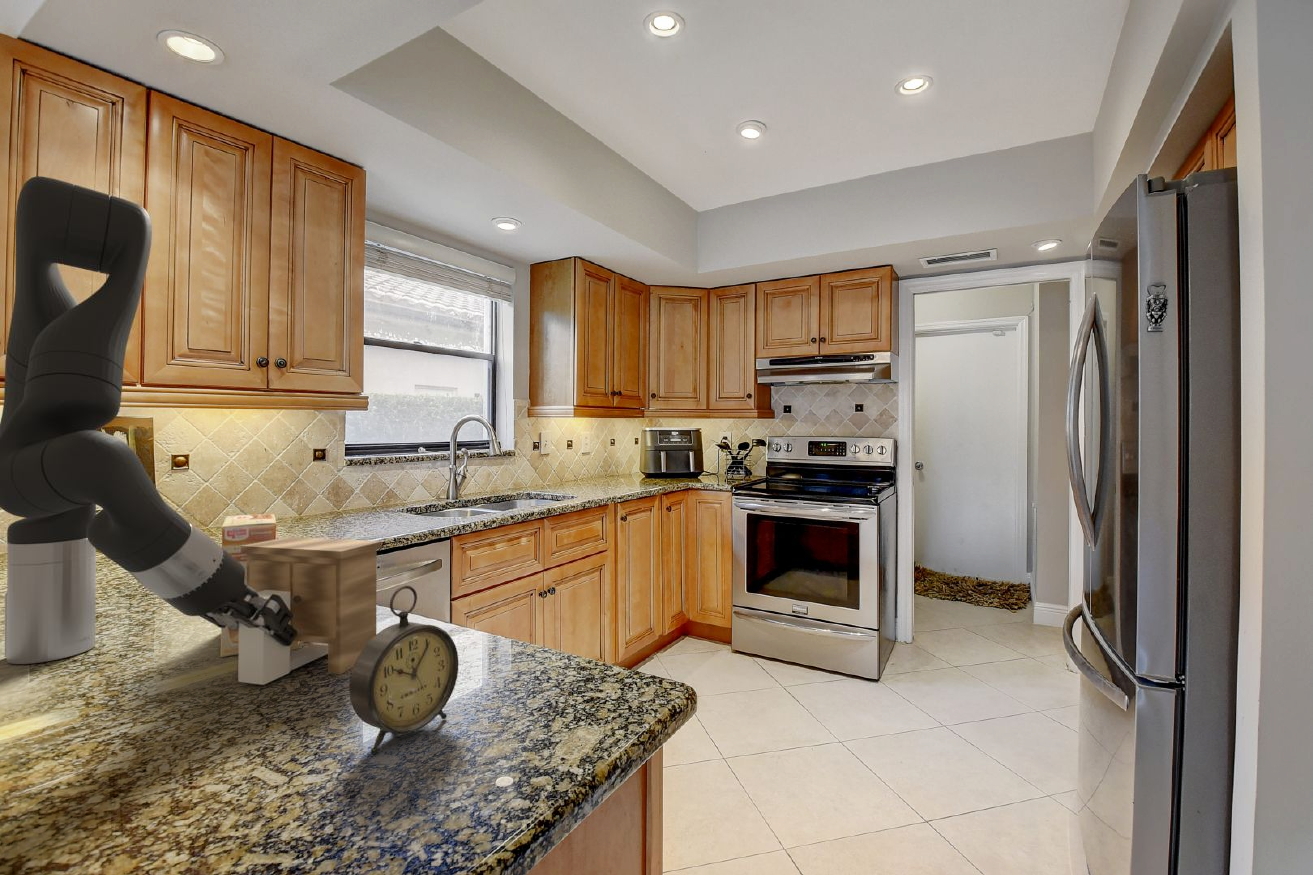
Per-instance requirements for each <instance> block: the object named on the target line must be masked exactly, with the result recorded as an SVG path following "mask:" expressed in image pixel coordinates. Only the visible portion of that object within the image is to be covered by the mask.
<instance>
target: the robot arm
mask: <svg viewBox="0 0 1313 875" xmlns="http://www.w3.org/2000/svg"><path fill="white" fill-rule="evenodd" d="M151 220H152V219H151V217H150V214H149V213H148V211H147V210H146V208H144V207H143V206H142V205H139V204H138V203H135V202H132V201H130V200H127V199H123V197H122V198H120V197H119V196H118V197H117V196H114V195H110V194H108V193H104V192H100V191H97V190H95V189H91V188H87V187H84V186H81V185H77V184H73V183H71V182H67V181H63V180H59V179H56V178H51V177H48V176H47V177H46V176H42V175H41V176H40V175H38V176H33V177H30V178H29V179H27V180H26V181H25V183H24V184H23V186H22V188H21V189H20V193H19V195H18V198H17V204H16V212H15V289H14V290H15V291H14V301H13V308H12V312H11V313H12V314H11V319H10V325H9V332H8V338H7V344H6V352H5V361H4V365H5V366H4V367H5V368H4V388H3V389H4V390H3V391H4V394H3V395H4V396H3V408H2V413H1V417H0V509H1V510H3V511H5V512H6V513H8V514H10V515H12V516H16V517H19V518H21V519H18V520H15V521H13V522H12V523H11V524H9V525H8V528H7V533H6V536H7V537H6V542H7V543H6V544H7V546H6V547H7V549H6V550H7V552H6V556H7V557H6V567H7V568H6V571H7V572H6V575H7V576H6V578H7V579H6V582H7V583H6V585H7V586H6V588H7V589H6V593H5V595H4V658H6V663H9V664H13V665H29V664H30V665H31V664H38V663H44V662H50V661H55V660H60V659H65V658H68V657H72V656H76V655H79V654H82V653H84V652H87V651H90V650H92V649H93V648H95V646H96V618H97V617H96V616H97V615H96V610H97V609H96V605H97V604H96V603H97V602H96V600H97V598H96V593H97V592H96V591H97V588H96V583H97V581H96V580H97V578H96V574H97V572H96V571H97V570H96V568H97V566H96V565H97V560H96V559H97V558H96V557H97V555H96V554H97V553H96V550H97V551H98V552H99V553H101V554H103V555H104V556H105V557H106V558H107V559H108V560H111V561H112V562H114V563H115V564H117V565H118V566H119V567H121V568H122V569H123V570H125V571H127V572H128V573H129V574H130V576H132V577H133V578H134V579H135V580H136V581H137V582H138V583H140V585H142V586H143V587H144V588H145V589H147V590H149V591H150V592H151V593H153V594H154V595H156V596H157V597H159V599H161V600H163V601H164V602H165V603H167V604H169V605H170V606H171V607H173V608H174V609H176V610H177V611H179V613H182V615H185V616H189V617H198V616H199V618H202V619H204V620H206V621H208V622H210V623H211V624H213V625H215V626H217V628H220V629H221V628H225V627H226V626H228V627H229V628H230V629H231V630H233V631H239V623H241V624H243V625H245V626H246V627H248V628H258V629H260V630H262V631H264V632H265V633H266V634H268V635H270V636H271V637H272V638H274V639H275V640H276V641H278V642H279V643H280V644H281V645H283V646H290V645H291V644H292V642H293V640H294V639H295V637H296V636H297V630H295V629H294V628H293V627H292V626H290V625H289V624H288V623H289V621H290V620H291V618H292V617H293V615H292V613H291V612H290V610H289V609H288V607H287V606H286V604H285V603H284V601H283V600H282V598H281V597H280V596H279V595H276V594H272V595H271V596H270V598H269V599H264V598H263V597H261V596H260V595H258V594H257V592H256V590H254V589H253V588H251V587H250V586H247V585H245V583H244V579H245V570H244V567H243V566H242V564H241V563H239V562H238V561H237V560H236V559H235V558H234V557H232V556H231V555H230V554H229V553H228V552H227V551H225V550H224V549H223V548H222V545H220V544H218V543H217V542H216V541H215V540H214V539H213V538H211V536H210V535H209V534H207V533H206V532H204V531H202V529H200V528H198V527H196V526H195V525H193V524H191V523H190V522H189V521H188V520H186V519H185V518H184V517H183V516H182V515H181V514H179V513H178V512H177V511H176V510H175V509H174V508H172V507H171V506H170V505H169V504H167V503H166V502H165V500H164V499H163V498H162V495H161V494H160V493H159V490H158V489H157V488H156V485H155V484H154V482H153V480H152V479H151V477H150V476H149V474H148V472H147V471H146V469H145V467H144V466H143V463H142V462H141V460H140V458H139V456H138V455H137V454H136V452H135V451H134V450H133V448H132V447H130V445H129V444H127V443H126V442H125V441H123V440H121V439H120V438H118V437H116V436H115V435H112V434H109V433H106V432H104V431H99V429H101V428H103V427H105V426H106V425H108V424H109V423H111V422H113V420H115V419H116V417H117V416H118V414H119V412H120V409H121V403H122V393H123V380H124V369H125V368H124V367H125V358H126V351H127V346H128V341H129V338H130V337H129V336H130V334H131V330H132V327H133V324H134V321H135V316H136V314H137V310H138V306H139V303H140V299H141V295H142V291H143V286H144V282H145V279H146V278H145V277H146V273H147V269H148V263H149V259H150V254H151V248H152V239H153V237H152V236H153V226H152V221H151ZM58 265H63V266H69V267H73V268H77V269H81V270H82V269H83V270H87V271H91V272H94V273H101V274H104V275H108V276H107V278H106V280H105V281H104V283H103V285H101V287H99V289H97V290H96V291H95V292H93V294H91V295H90V296H88V297H87V298H86V299H84V300H83V301H82V302H80V303H79V301H78V300H77V299H76V298H75V296H73V294H72V293H71V292H70V290H69V288H68V286H67V285H66V283H65V281H64V280H63V277H62V274H61V271H60V268H59V266H58ZM97 506H99V507H100V508H101V510H100V511H98V513H97V514H96V512H97ZM258 609H259V611H258V612H257V610H258ZM256 612H257V613H256ZM255 613H256V615H255V616H254V614H255ZM253 616H254V618H253V619H252V620H250V618H251V617H253ZM264 620H265V621H266V623H267V624H268V625H266V624H264V622H263V621H264Z"/></svg>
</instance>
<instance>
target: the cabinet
mask: <svg viewBox="0 0 1313 875" xmlns="http://www.w3.org/2000/svg"><path fill="white" fill-rule="evenodd" d="M382 542H383V541H382V540H381V541H379V540H365V539H364V540H363V539H362V540H361V539H340V538H323V537H322V538H321V537H320V538H319V537H318V538H317V537H303V536H302V537H301V536H300V537H299V536H286V537H285V536H284V537H280V538H276V539H275V540H269V541H264V542H259V543H254V544H248V545H243V546H241V553H247V586H250V587H251V588H253V589H254V590H256V592H260V591H264V590H276V591H288V592H290V612H291V613H292V615H293V617H292V618H291V620H290V626H292V627H293V628H294V629H295V630H297V636H296V637H295V639H294V640H293V642H292V644H291V645H290V652H293V651H295V650H298V649H300V645H299V644H300V643H299V642H301V643H302V642H303V643H304V642H305V643H311V644H312V643H322V644H328V654H327V673H328V674H333V675H342V674H344V673H346V672H348V671H350V670H353V667H354V664H355V662H356V660H357V658H358V656H359V654H360V653H361V651H362V650H363V648H364V647H365V646H366V644H367V643H368V642H369V641H370V640H371V639H372V638H373V637H374V636H375V635H376V634H377V586H378V585H377V571H378V568H377V564H378V562H377V558H378V555H377V550H379V549H382V548H383V543H382Z"/></svg>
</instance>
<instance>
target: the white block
mask: <svg viewBox="0 0 1313 875" xmlns="http://www.w3.org/2000/svg"><path fill="white" fill-rule="evenodd" d="M257 594H258V595H260V596H261V597H263V598H264V599H269V598H270V596H271V595H272V594H276V595H279V596H280V597H281V598H282V600H283V601H284V603H285V604H286V606H287V607H288V609H289V610H290V592H288V591H276V590H264V591H260V592H257ZM258 611H259V609H258V610H257V612H258ZM257 612H256V613H257ZM256 613H255V614H254V616H255V615H256ZM254 616H253V617H251V618H250V620H252V619H253V618H254ZM263 622H264V624H266V625H268V624H267V623H266V621H265V620H264V621H263ZM288 624H289V625H290V621H289V623H288ZM326 655H328V644H322V643H312V642H311V643H310V644H307V645H305V646H303V647H301V648H300V647H299V648H297V649H295V650H292V651H290V646H283V645H281V644H280V643H279V642H278V641H276V640H275V639H274V638H272V637H271V636H270V635H268V634H266V633H265V632H264V631H262V630H260V629H258V628H248V627H246V626H245V625H243V624H241V623H239V654H238V661H237V662H238V666H237V668H238V670H237V672H238V674H237V675H238V676H237V677H238V680H237V681H238V682H239V683H247V684H252V685H262V686H263V685H266V684H268V683H271V682H272V681H274V680H277V679H279V678H282V677H283V676H285V675H288V674H290V672H291V671H293V670H295V669H297V668H300V667H302V666H304V665H306V664H308V663H311V662H313V661H315V660H317V659H319V658H321V657H323V656H326Z"/></svg>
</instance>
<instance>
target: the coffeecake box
mask: <svg viewBox="0 0 1313 875" xmlns="http://www.w3.org/2000/svg"><path fill="white" fill-rule="evenodd" d="M276 521H277V520H276V516H275V513H256V514H237V515H227V516H226V517H225V519H224V521H223V523H222V526H221V547H222V548H223V549H224V550H225V551H227V552H228V553H229V554H230V555H231V556H232V557H234V558H235V559H236V560H237V561H238V562H239V563H241V564H242V566H243V567H244V570H245V579H244V583H245V585H247V553H241V546H243V545H248V544H254V543H259V542H264V541H269V540H275V539H277V522H276ZM236 655H239V631H233V630H231V629H230V628H229V627H228V626H226V627H225V628H220V655H219V656H220V658H224V657H229V656H236Z"/></svg>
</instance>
